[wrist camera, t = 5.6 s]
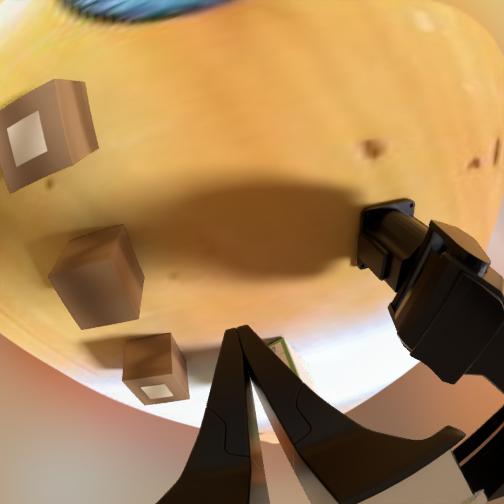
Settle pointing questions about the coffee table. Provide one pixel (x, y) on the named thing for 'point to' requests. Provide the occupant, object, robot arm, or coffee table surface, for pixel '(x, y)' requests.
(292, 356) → the ink box
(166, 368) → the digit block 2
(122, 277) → the plain block
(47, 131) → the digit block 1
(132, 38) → the coffee table surface
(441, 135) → the coffee table surface
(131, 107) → the coffee table surface
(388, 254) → the robot arm
